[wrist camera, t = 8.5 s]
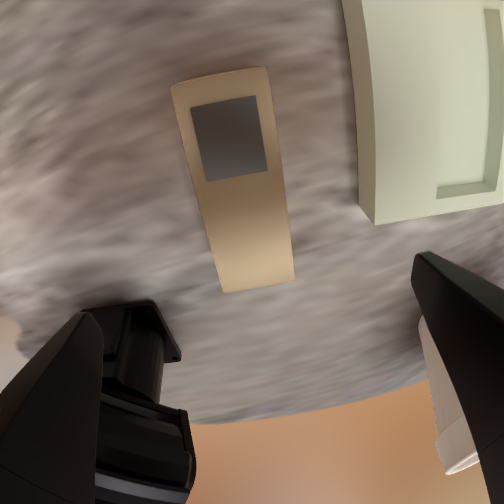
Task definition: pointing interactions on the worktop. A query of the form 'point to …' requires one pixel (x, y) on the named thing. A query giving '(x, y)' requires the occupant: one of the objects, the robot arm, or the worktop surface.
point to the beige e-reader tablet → (237, 175)
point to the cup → (447, 411)
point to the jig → (427, 105)
